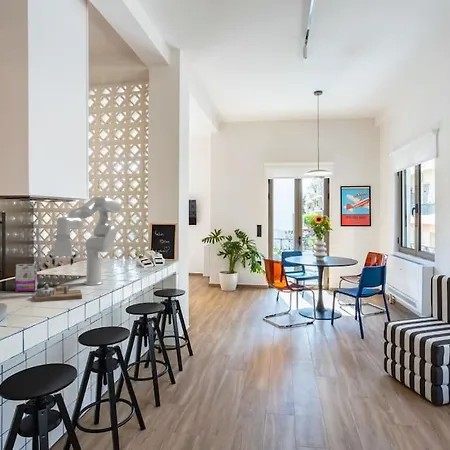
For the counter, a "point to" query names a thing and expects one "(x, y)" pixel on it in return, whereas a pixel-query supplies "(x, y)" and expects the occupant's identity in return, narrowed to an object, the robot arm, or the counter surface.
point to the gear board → (56, 294)
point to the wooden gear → (61, 288)
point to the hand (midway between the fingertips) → (62, 265)
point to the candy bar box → (25, 277)
